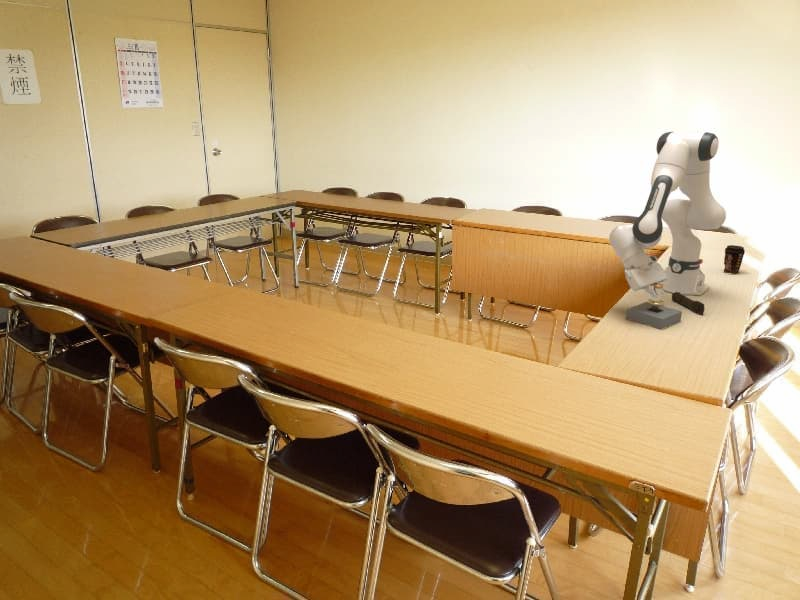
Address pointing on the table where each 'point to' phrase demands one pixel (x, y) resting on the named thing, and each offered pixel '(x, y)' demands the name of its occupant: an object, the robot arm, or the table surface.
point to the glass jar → (656, 298)
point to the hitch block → (654, 315)
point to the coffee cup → (733, 258)
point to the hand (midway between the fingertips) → (658, 295)
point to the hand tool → (689, 303)
